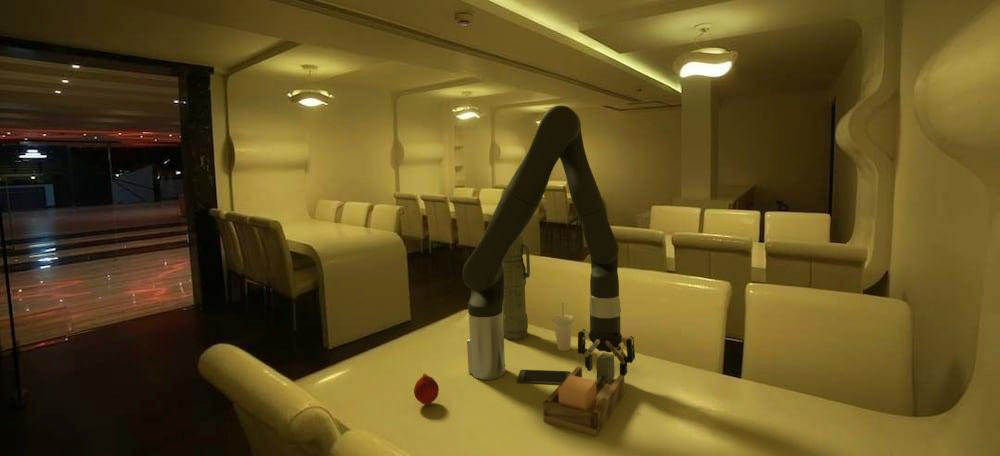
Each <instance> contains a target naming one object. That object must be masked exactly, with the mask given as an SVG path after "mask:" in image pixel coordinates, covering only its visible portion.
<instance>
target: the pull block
mask: <svg viewBox="0 0 1000 456" xmlns="http://www.w3.org/2000/svg"><path fill="white" fill-rule="evenodd" d="M595 361H596V363H595V365H596V380H595V379H590V378H586V377H583V376H582V377H577V376H572V375H571V376H570V377H569V378H568V379H567V380H566V381H565V382H564V383H563V384H562V385H561V386H560V387H559V388H558V390H559V404H563V405H567V406H571V407H575V408H579V409H583V410H587V411H591V412H592V411H593V410H594V409H595V407H596V406H597V405H596V388H597V387H598V386H599V384H600V383H606V384H610V383H611V382H612V380H613V379H614V378H615V355H614V354H613V353H609V352H602V353H601V354H600V355H599V356H598V357H597V359H596V360H595Z"/></svg>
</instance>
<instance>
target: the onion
mask: <svg viewBox="0 0 1000 456" xmlns="http://www.w3.org/2000/svg"><path fill="white" fill-rule="evenodd" d="M439 391H440V388H439V385H438V382H437V381H436V380H435V379H434V378H433V376H429V375H428V374H427V372H423V373H422V376H421V377H420V378H419V379H417V380H416V383H415V385H414V388H413V394H414V397H415V399H416V400H417V401H418V402H419V403H421V404H423V405H424V406H429V405H430V404H432V403H433V402H434V401H435V400H436V399H437V398H438V395H439ZM428 404H429V405H428Z"/></svg>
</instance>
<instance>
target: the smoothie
mask: <svg viewBox="0 0 1000 456" xmlns="http://www.w3.org/2000/svg"><path fill="white" fill-rule="evenodd" d="M574 318H575V317H574V316H573V315H570V314H565V306H564V303H563V302H562V303H561V314H556V315H554V316H553V317H552V322H553V326H554V331H555V332H554V333H555V340H556V344H557V345H556V346H557V350H559V351H560V352H561V351H563V352H564V351H565V352H566V351H570V350H571V343H572V333H573V324H574V322H575V320H574Z"/></svg>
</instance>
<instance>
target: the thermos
mask: <svg viewBox="0 0 1000 456" xmlns="http://www.w3.org/2000/svg"><path fill="white" fill-rule="evenodd" d="M523 242H524V240H523V237H522V234H520V235H519V236H518V238H517V239H516V240H515V241H514V243H513V244H512V245H511V247H510V248H509V249H508V251H507V253H506V255H505V257H504V259H503V261H502V265H503V272H504V299H503V305H502V309H503V331H504V338H506V339H505V340H507V339H512V340H511V341H517V340H516V339H521V340H524V339H526V338H527V337H528V336H529V334H528V329H529V323H528V322H529V318H528V314H527V309H526V285H527V278H530V277H531V266H530V265H531V263H530V249H529V247H528V246H527V245H525V244H524V243H523ZM524 250H525V258H526V259H525V260H526V261H525V262H524ZM525 265H526V266H525ZM527 335H528V336H527ZM525 337H526V338H525ZM523 338H524V339H523Z"/></svg>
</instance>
